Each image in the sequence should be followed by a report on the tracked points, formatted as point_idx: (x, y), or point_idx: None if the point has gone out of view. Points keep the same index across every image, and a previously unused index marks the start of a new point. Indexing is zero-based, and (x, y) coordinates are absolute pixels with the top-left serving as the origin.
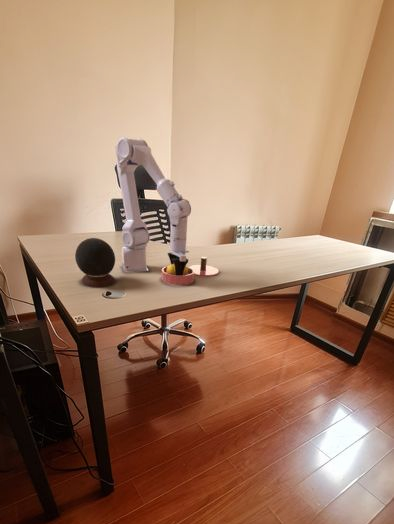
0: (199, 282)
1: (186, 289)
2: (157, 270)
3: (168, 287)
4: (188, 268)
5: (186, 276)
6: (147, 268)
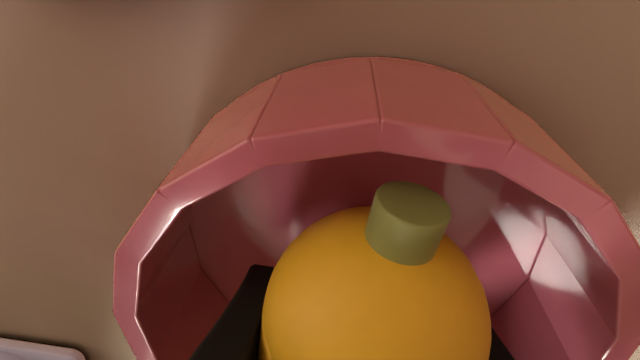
0: (569, 6)
1: None
2: (26, 284)
3: None
4: (403, 243)
5: (627, 341)
6: (18, 350)
